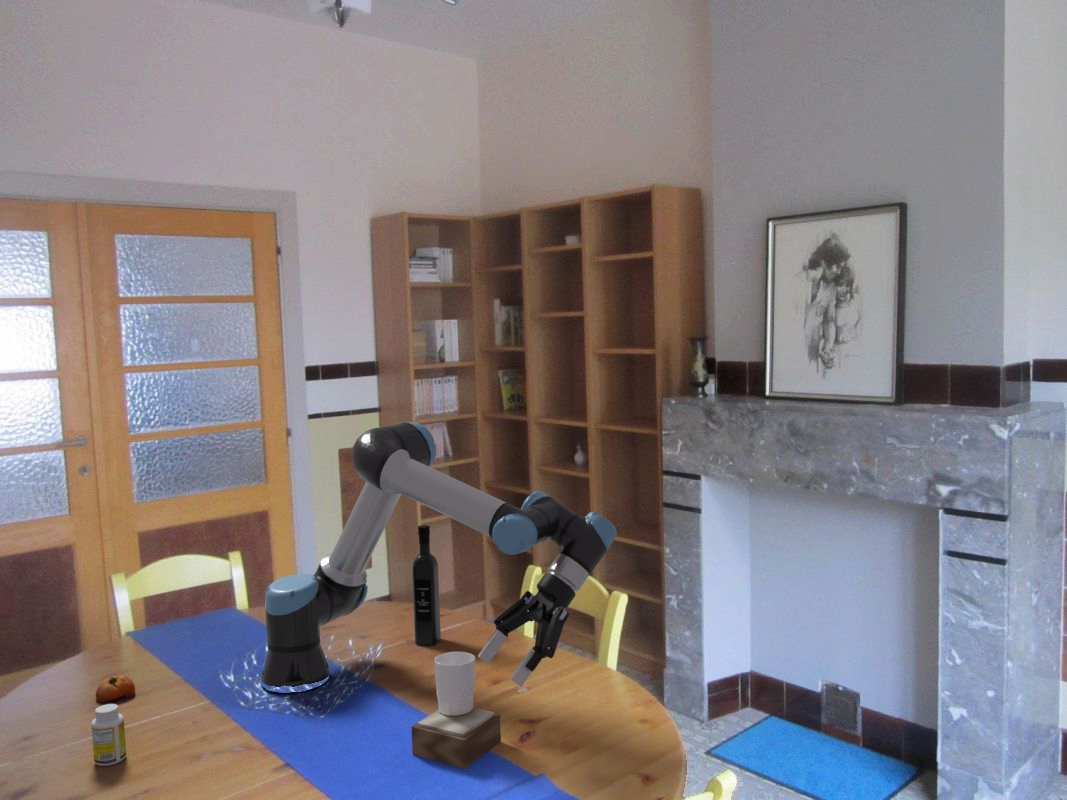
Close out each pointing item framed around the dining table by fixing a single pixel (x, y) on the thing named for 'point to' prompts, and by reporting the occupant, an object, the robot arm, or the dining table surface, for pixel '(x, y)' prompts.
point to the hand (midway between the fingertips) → (498, 671)
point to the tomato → (115, 688)
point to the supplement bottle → (108, 735)
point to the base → (456, 736)
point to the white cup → (455, 682)
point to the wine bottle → (426, 592)
